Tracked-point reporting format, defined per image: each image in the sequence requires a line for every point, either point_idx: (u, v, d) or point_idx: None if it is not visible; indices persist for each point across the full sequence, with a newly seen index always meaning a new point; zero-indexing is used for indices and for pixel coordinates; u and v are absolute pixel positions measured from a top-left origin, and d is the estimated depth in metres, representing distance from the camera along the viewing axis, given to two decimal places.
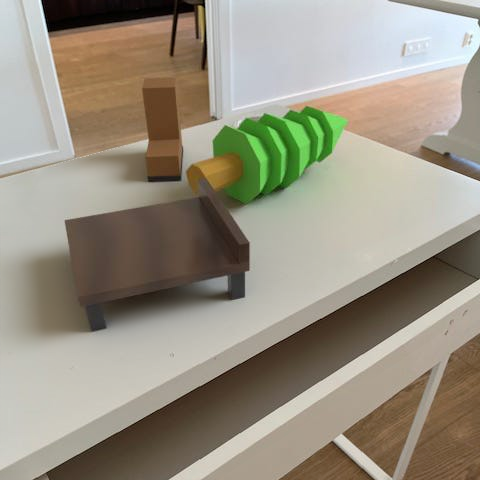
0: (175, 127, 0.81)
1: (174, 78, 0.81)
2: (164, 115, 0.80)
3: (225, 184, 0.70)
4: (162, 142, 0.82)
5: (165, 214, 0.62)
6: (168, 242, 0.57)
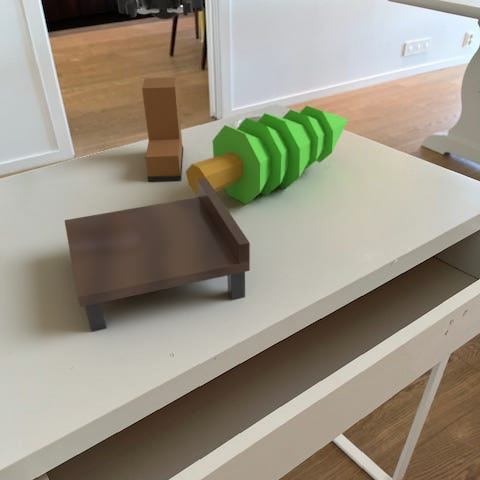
0: (175, 127, 0.81)
1: (174, 78, 0.81)
2: (164, 115, 0.80)
3: (225, 184, 0.70)
4: (162, 142, 0.82)
5: (165, 214, 0.62)
6: (168, 242, 0.57)
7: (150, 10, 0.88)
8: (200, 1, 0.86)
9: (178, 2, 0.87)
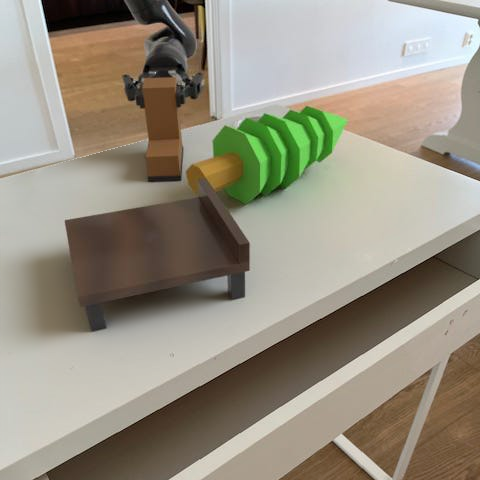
0: (175, 127, 0.81)
1: (174, 78, 0.81)
2: (164, 115, 0.80)
3: (225, 184, 0.71)
4: (162, 142, 0.82)
5: (165, 214, 0.62)
6: (168, 242, 0.57)
7: None
8: (194, 90, 0.82)
9: None
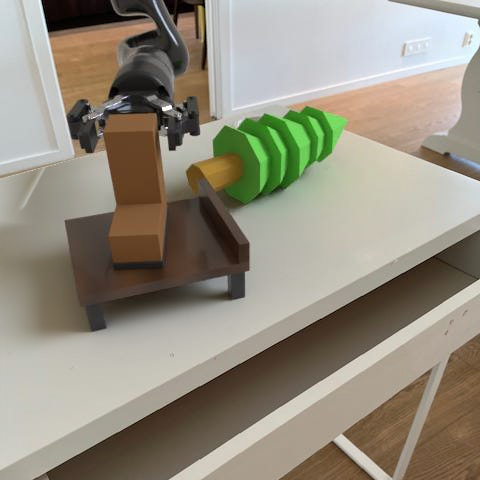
0: (154, 186, 0.55)
1: (153, 115, 0.54)
2: (138, 170, 0.54)
3: (225, 184, 0.70)
4: (136, 209, 0.55)
5: None
6: (168, 242, 0.57)
7: None
8: (195, 123, 0.56)
9: (162, 122, 0.57)
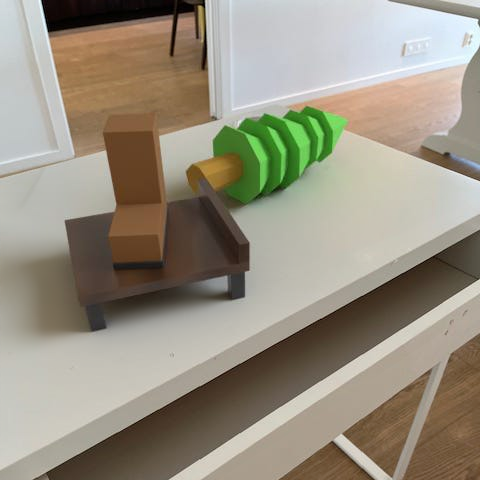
0: (154, 186, 0.55)
1: (153, 115, 0.54)
2: (138, 170, 0.54)
3: (225, 184, 0.70)
4: (136, 209, 0.55)
5: None
6: (168, 242, 0.57)
7: None
8: None
9: None
